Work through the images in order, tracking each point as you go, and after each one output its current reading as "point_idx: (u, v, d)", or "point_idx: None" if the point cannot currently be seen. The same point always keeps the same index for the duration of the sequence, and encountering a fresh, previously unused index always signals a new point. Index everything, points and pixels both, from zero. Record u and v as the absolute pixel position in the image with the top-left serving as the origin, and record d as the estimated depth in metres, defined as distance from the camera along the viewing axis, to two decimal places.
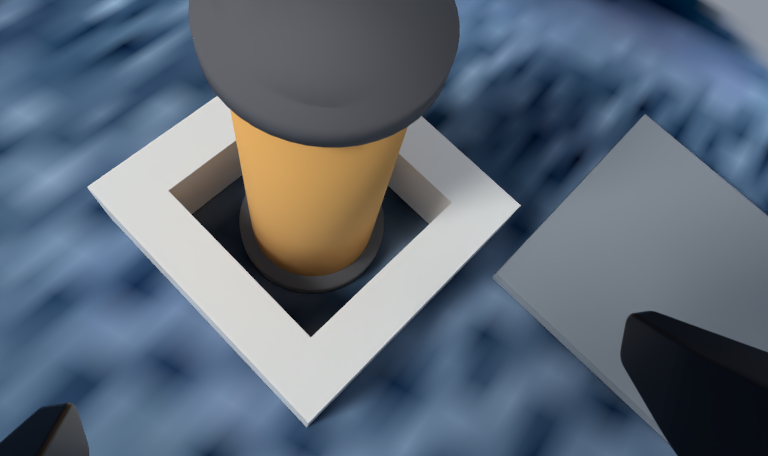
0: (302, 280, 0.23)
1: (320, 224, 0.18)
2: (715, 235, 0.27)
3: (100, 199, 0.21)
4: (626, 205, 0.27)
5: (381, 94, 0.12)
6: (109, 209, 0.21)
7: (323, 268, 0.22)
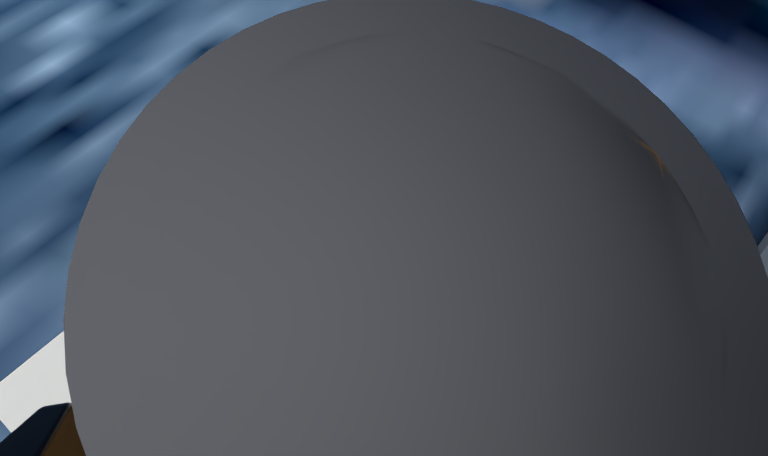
0: None
1: None
2: None
3: (2, 418, 0.13)
4: None
5: None
6: None
7: None
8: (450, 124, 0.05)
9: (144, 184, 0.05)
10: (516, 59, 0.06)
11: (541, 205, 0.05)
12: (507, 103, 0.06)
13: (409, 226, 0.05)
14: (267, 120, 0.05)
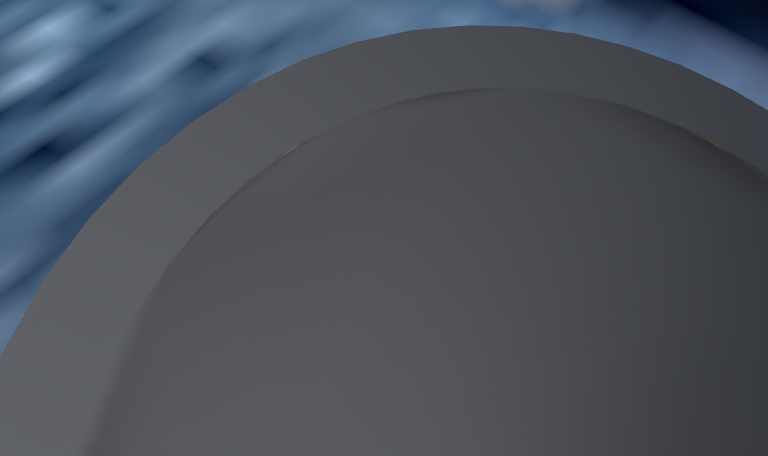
0: None
1: None
2: None
3: None
4: None
5: None
6: None
7: None
8: (568, 236, 0.03)
9: (81, 360, 0.03)
10: (652, 124, 0.04)
11: (718, 373, 0.03)
12: (650, 199, 0.04)
13: (516, 421, 0.03)
14: (285, 238, 0.03)
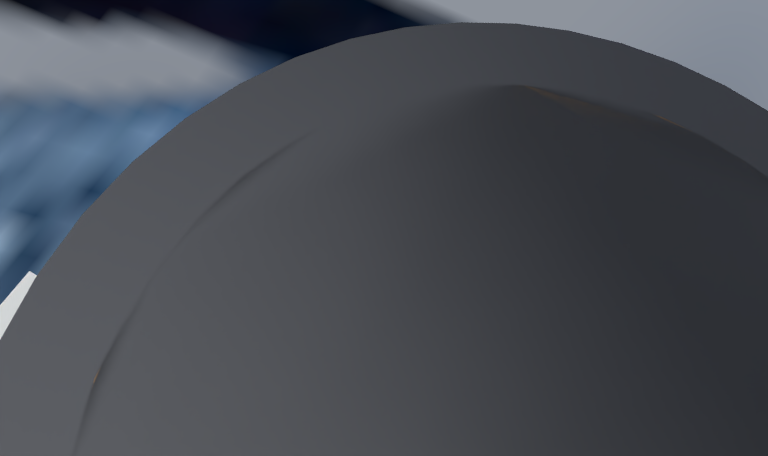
0: None
1: None
2: None
3: None
4: None
5: None
6: None
7: None
8: (561, 232, 0.03)
9: (74, 355, 0.03)
10: (646, 122, 0.04)
11: (710, 367, 0.03)
12: (642, 196, 0.04)
13: (508, 415, 0.03)
14: (276, 235, 0.03)
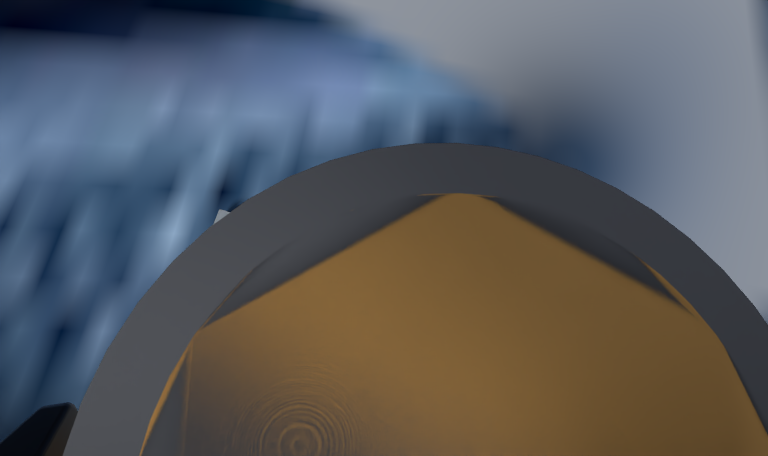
0: None
1: None
2: None
3: None
4: None
5: None
6: None
7: None
8: (483, 308, 0.05)
9: (134, 406, 0.04)
10: (555, 218, 0.05)
11: (586, 409, 0.05)
12: (545, 278, 0.05)
13: (438, 443, 0.04)
14: (275, 314, 0.05)
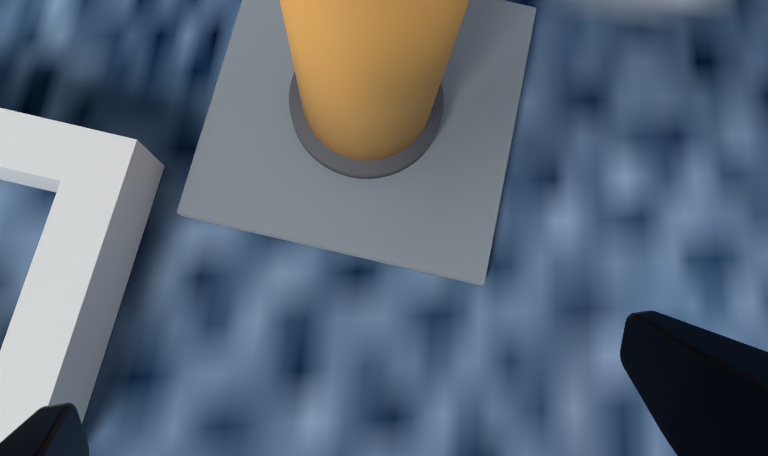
0: (361, 165, 0.22)
1: (381, 100, 0.16)
2: None
3: None
4: (280, 59, 0.23)
5: None
6: None
7: (383, 150, 0.21)
8: None
9: None
10: None
11: None
12: None
13: None
14: None
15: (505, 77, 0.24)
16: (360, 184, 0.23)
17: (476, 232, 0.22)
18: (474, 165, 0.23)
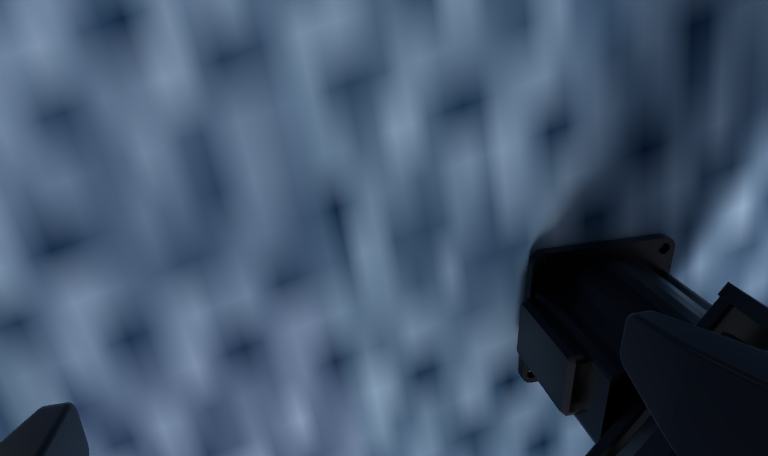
0: None
1: None
2: None
3: None
4: None
5: None
6: None
7: None
8: None
9: None
10: None
11: None
12: None
13: None
14: None
15: None
16: None
17: None
18: None
